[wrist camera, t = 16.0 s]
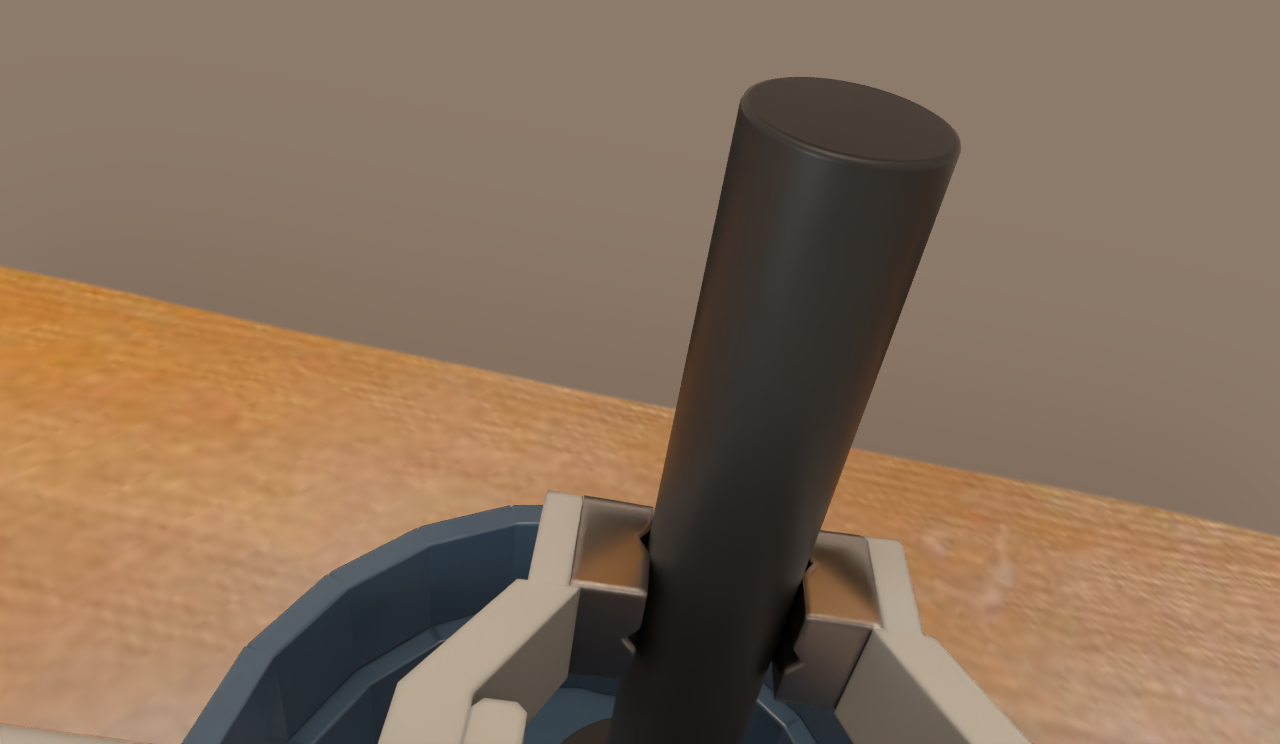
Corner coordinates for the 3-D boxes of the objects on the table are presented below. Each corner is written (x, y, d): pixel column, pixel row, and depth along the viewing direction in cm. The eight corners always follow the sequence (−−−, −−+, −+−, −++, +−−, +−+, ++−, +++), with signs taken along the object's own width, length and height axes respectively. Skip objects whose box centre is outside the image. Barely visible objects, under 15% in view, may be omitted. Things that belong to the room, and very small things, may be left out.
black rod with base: (464, 947, 17) (505, 107, 7) (587, 759, 20) (728, 7, 10) (672, 1096, 15) (1071, 310, 6) (768, 870, 19) (1125, 121, 9)
